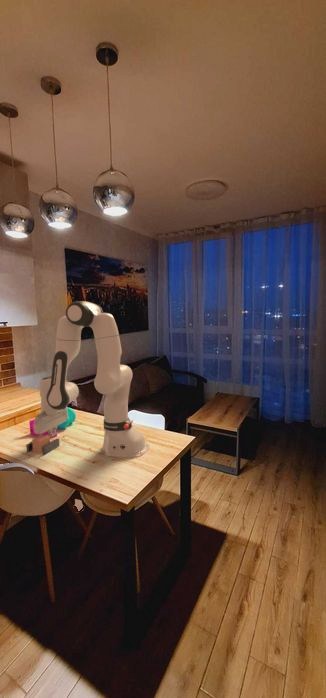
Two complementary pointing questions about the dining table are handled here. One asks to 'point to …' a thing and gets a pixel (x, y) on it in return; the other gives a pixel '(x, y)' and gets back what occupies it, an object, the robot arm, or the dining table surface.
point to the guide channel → (45, 448)
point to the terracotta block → (40, 443)
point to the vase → (78, 504)
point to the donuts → (70, 419)
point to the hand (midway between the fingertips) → (52, 435)
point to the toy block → (38, 434)
